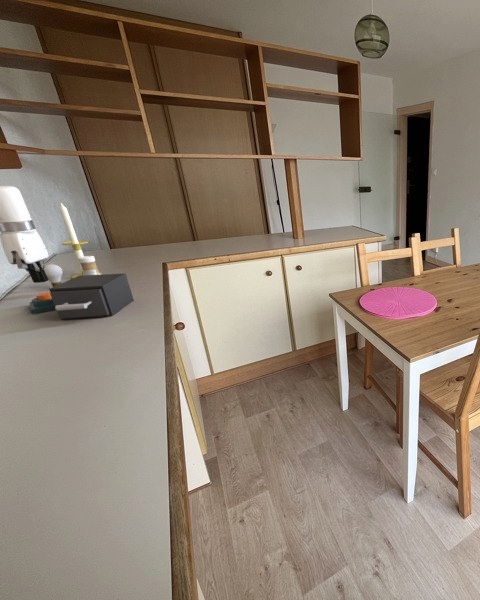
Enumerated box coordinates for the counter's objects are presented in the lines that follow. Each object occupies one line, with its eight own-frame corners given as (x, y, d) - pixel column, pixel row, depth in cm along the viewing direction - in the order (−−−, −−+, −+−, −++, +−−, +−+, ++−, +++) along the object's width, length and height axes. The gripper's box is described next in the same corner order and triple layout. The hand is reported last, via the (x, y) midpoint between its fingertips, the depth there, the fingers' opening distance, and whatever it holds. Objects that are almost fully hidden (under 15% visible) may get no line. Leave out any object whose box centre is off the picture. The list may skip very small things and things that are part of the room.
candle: (104, 275, 144) (80, 202, 133) (75, 280, 137) (46, 203, 125) (97, 271, 149) (73, 200, 138) (68, 276, 142) (40, 201, 130)
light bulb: (46, 291, 123) (36, 267, 119) (49, 287, 127) (39, 263, 124) (67, 288, 126) (58, 264, 123) (69, 285, 131) (60, 261, 127)
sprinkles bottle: (107, 287, 129) (96, 255, 125) (100, 290, 125) (89, 258, 121) (93, 287, 128) (82, 255, 124) (86, 291, 124) (74, 258, 119)
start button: (54, 298, 108) (52, 294, 107) (38, 301, 105) (36, 296, 105) (53, 296, 110) (51, 291, 109) (38, 299, 108) (36, 294, 107)
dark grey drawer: (100, 320, 98) (90, 294, 95) (50, 324, 95) (38, 297, 91) (128, 300, 114) (121, 277, 111) (86, 303, 111) (77, 279, 107)
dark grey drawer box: (112, 316, 103) (102, 285, 100) (61, 320, 100) (48, 288, 96) (133, 300, 116) (125, 273, 113) (89, 303, 113) (79, 275, 109)
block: (67, 307, 109) (63, 298, 107) (33, 314, 103) (28, 304, 102) (64, 300, 115) (60, 291, 113) (31, 306, 109) (27, 297, 108)
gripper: (20, 224, 105) (43, 276, 112) (-20, 231, 91) (8, 290, 98) (48, 223, 107) (69, 274, 114) (12, 230, 93) (38, 288, 100)
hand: (41, 281), depth 106 cm, fingers closed
